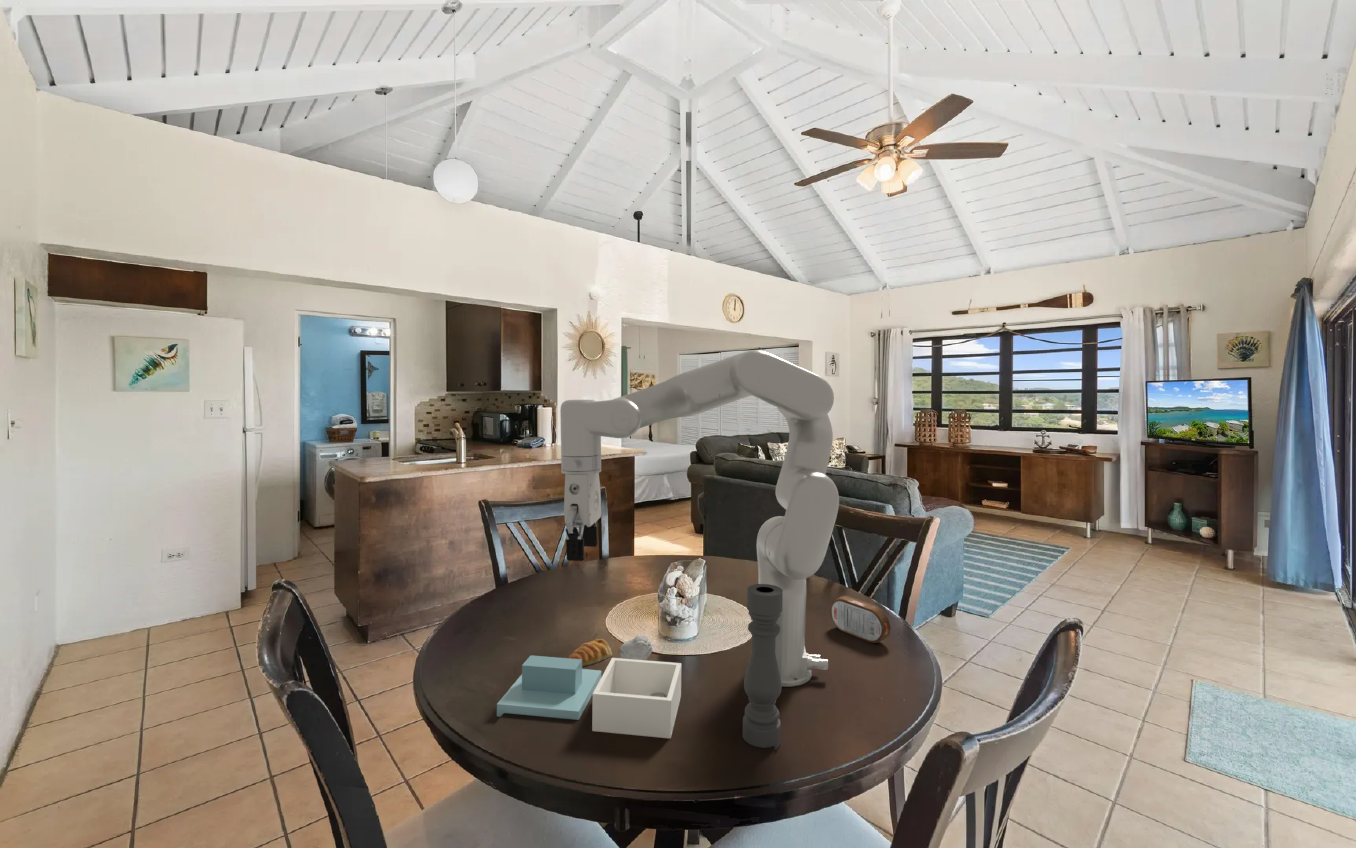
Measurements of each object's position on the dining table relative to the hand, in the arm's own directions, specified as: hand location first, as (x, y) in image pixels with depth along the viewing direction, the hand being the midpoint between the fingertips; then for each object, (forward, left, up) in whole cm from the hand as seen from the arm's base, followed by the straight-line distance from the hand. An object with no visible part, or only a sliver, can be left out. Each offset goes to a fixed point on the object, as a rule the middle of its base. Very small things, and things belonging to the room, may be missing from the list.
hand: (582, 552), depth 110 cm
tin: (-57, -31, -26) cm, 70 cm away
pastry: (+1, -9, -26) cm, 27 cm away
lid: (+4, +7, -25) cm, 26 cm away
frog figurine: (-9, -6, -26) cm, 28 cm away
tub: (-13, +10, -25) cm, 31 cm away
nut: (-16, +8, -25) cm, 31 cm away
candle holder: (-34, +14, -26) cm, 45 cm away
